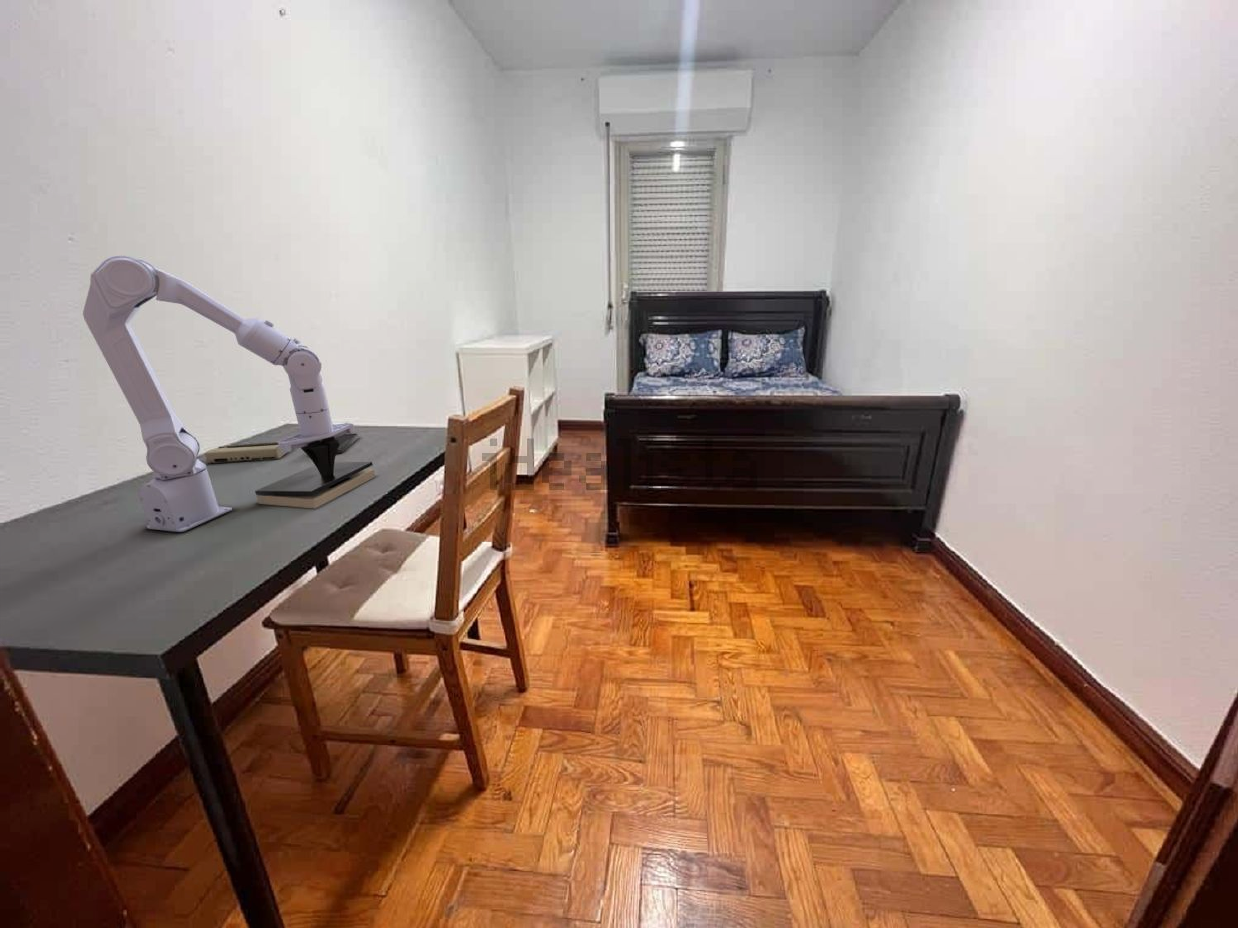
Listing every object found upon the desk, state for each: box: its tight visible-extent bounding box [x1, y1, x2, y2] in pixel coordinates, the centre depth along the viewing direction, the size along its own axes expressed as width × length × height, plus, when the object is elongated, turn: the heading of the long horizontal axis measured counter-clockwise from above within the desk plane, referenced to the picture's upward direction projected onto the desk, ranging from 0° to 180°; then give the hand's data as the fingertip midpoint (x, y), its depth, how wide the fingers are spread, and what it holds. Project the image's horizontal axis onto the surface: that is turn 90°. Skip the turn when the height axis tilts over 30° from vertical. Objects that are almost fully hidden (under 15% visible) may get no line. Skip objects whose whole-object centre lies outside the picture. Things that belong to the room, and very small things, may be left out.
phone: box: [334, 432, 359, 455], centre depth 134 cm, size 8×1×15 cm
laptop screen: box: [254, 461, 374, 495], centre depth 105 cm, size 13×17×1 cm
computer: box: [205, 441, 287, 464], centre depth 127 cm, size 16×8×3 cm, turn 99°
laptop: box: [255, 468, 376, 510], centre depth 105 cm, size 13×17×2 cm
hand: (327, 476), depth 104 cm, fingers closed, pressing on laptop screen
